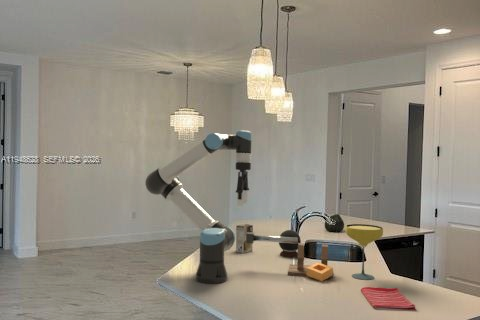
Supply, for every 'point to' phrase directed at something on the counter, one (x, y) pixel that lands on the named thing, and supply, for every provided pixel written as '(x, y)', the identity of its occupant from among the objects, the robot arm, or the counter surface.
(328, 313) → the counter surface
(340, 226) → the squash
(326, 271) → the collar
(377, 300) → the dish towel
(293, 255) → the black stacked round piece
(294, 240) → the shaft
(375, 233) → the cocktail glass
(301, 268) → the stand
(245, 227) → the coffee box
